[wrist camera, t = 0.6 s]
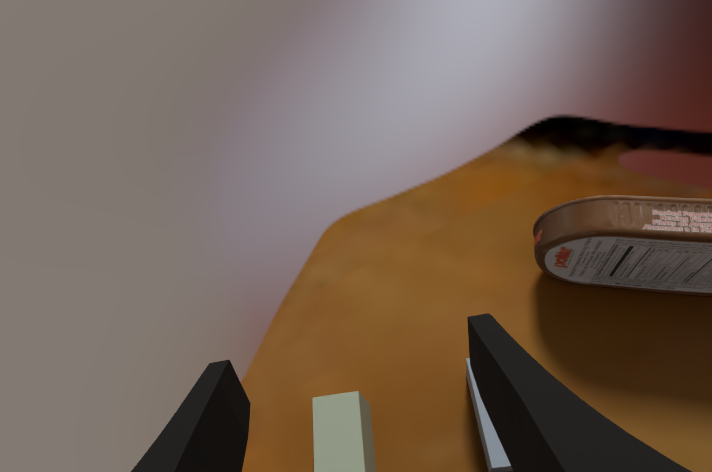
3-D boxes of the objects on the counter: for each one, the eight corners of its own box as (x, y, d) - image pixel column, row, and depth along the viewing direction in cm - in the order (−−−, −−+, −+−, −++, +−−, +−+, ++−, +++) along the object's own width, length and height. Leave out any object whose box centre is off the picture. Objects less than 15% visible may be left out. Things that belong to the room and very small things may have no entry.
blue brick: (538, 468, 25) (549, 461, 22) (488, 473, 26) (492, 468, 23) (509, 369, 29) (515, 351, 26) (466, 375, 29) (466, 358, 26)
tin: (759, 269, 29) (851, 193, 22) (773, 311, 27) (876, 244, 20) (526, 252, 33) (542, 184, 26) (525, 287, 32) (542, 225, 25)
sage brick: (379, 504, 26) (367, 503, 23) (333, 509, 27) (315, 509, 23) (370, 404, 30) (358, 391, 26) (329, 410, 30) (312, 397, 27)
